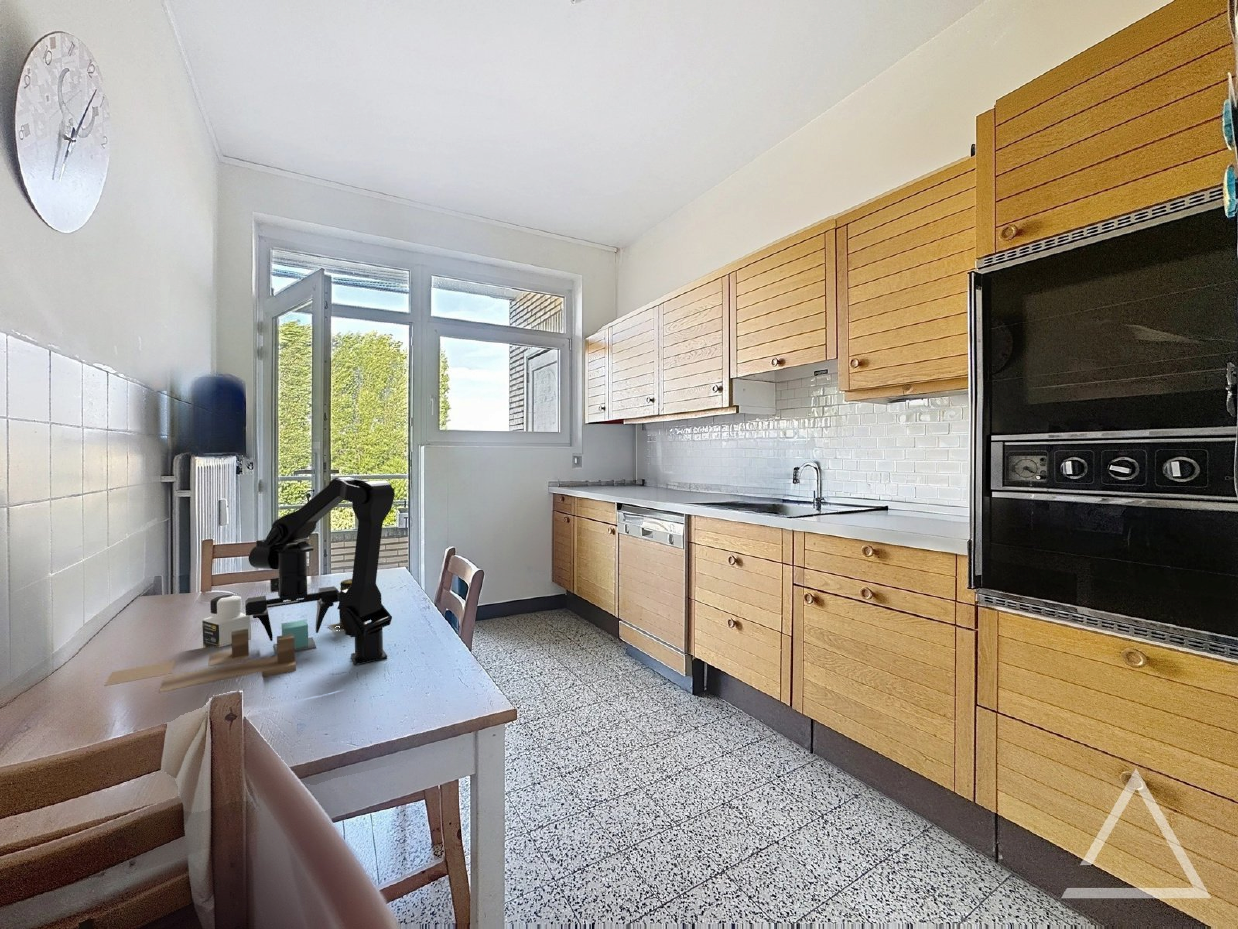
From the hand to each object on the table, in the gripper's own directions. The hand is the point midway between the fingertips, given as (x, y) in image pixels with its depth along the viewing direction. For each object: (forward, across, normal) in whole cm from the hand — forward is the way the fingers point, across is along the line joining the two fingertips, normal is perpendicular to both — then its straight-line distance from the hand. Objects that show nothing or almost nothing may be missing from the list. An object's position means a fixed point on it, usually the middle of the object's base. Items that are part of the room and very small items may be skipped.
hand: (294, 636), depth 128 cm
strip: (+2, +12, +12) cm, 17 cm away
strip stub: (+2, +12, +2) cm, 13 cm away
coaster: (+3, 0, 0) cm, 3 cm away
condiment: (+3, -13, -10) cm, 17 cm away
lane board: (+3, +24, +7) cm, 26 cm away
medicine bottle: (+3, +13, -11) cm, 17 cm away
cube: (+2, 0, 0) cm, 2 cm away
